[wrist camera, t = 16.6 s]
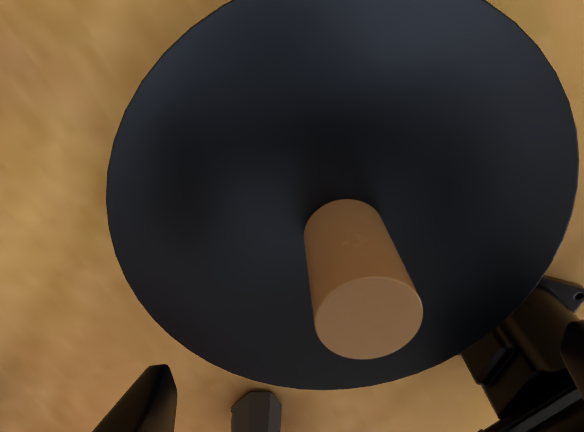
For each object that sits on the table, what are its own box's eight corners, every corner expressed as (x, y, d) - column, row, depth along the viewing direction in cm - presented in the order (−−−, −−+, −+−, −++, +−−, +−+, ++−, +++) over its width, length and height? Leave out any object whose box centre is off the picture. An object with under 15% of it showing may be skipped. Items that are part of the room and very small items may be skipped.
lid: (657, 72, 12) (874, 118, 8) (431, 395, 19) (480, 520, 14) (158, -128, 10) (61, -228, 5) (95, 329, 16) (27, 457, 12)
